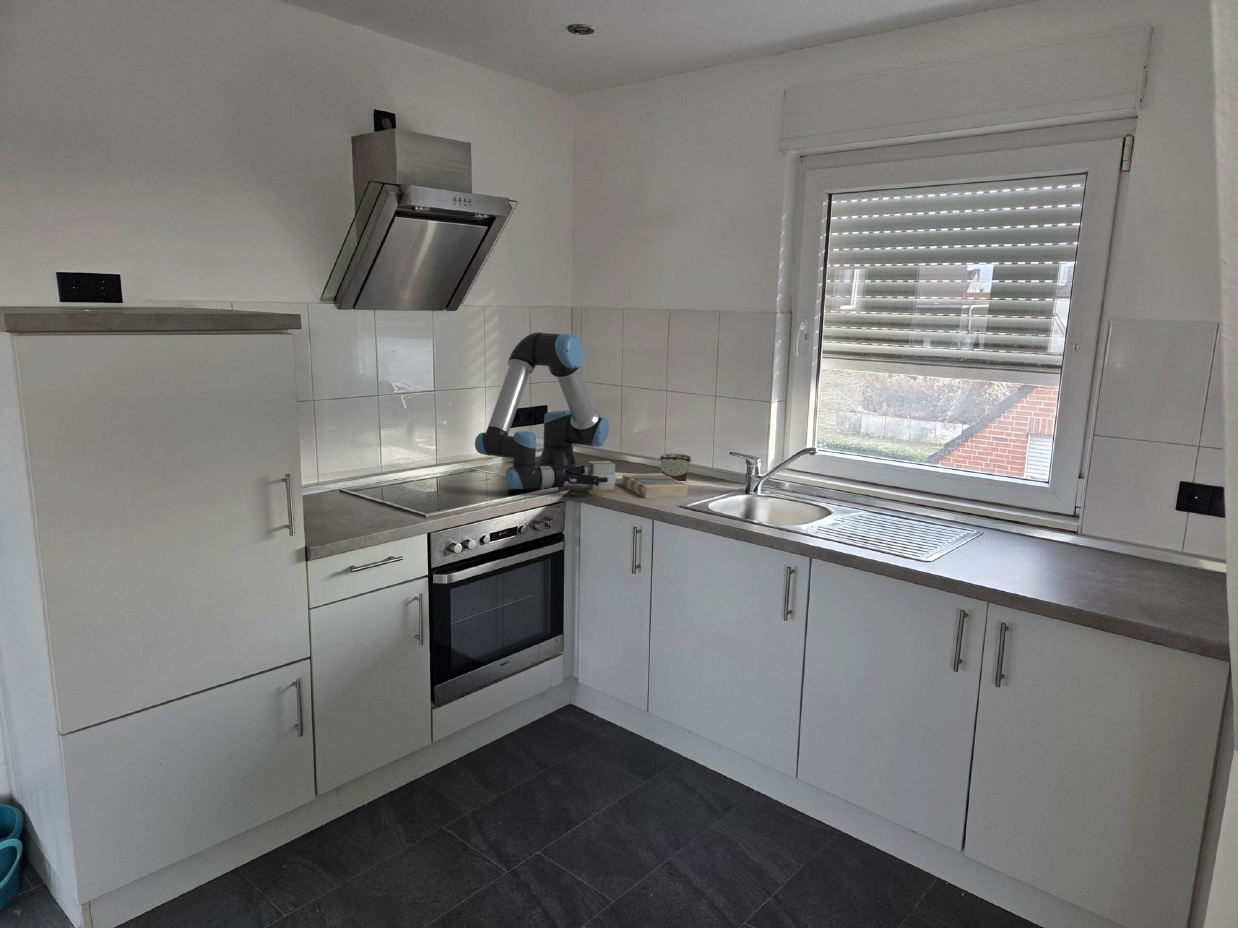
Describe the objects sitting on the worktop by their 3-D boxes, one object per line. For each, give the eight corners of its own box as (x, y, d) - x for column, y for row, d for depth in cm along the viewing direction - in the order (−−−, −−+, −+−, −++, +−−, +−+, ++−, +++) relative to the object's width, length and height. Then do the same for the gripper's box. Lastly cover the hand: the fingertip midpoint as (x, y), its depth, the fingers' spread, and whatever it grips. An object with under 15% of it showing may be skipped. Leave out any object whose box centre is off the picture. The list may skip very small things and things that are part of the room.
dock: (622, 484, 302) (622, 473, 301) (661, 483, 308) (661, 472, 307) (645, 498, 282) (646, 486, 281) (687, 496, 288) (687, 485, 288)
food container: (690, 479, 318) (691, 454, 316) (690, 482, 312) (691, 457, 310) (658, 477, 319) (660, 452, 318) (658, 480, 313) (659, 455, 311)
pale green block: (584, 490, 290) (585, 461, 288) (610, 489, 294) (611, 460, 292) (590, 494, 285) (591, 464, 283) (616, 493, 289) (617, 464, 287)
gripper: (540, 479, 293) (595, 477, 301) (562, 495, 271) (621, 492, 279) (541, 459, 292) (596, 458, 300) (562, 473, 269) (622, 471, 277)
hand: (608, 474), depth 289 cm, fingers open, 13 cm apart
